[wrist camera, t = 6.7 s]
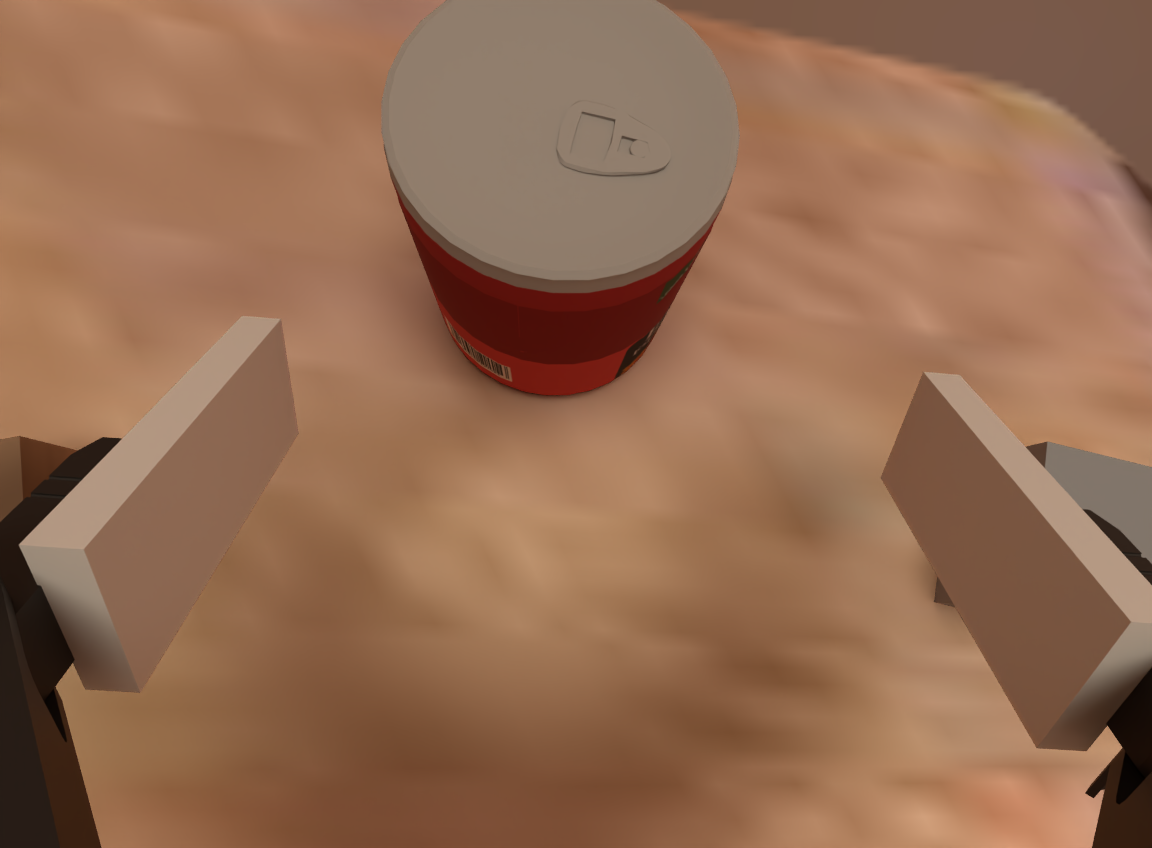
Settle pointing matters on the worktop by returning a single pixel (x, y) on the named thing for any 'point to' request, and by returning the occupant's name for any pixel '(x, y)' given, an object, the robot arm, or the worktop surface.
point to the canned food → (557, 177)
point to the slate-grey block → (1098, 492)
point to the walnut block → (25, 468)
